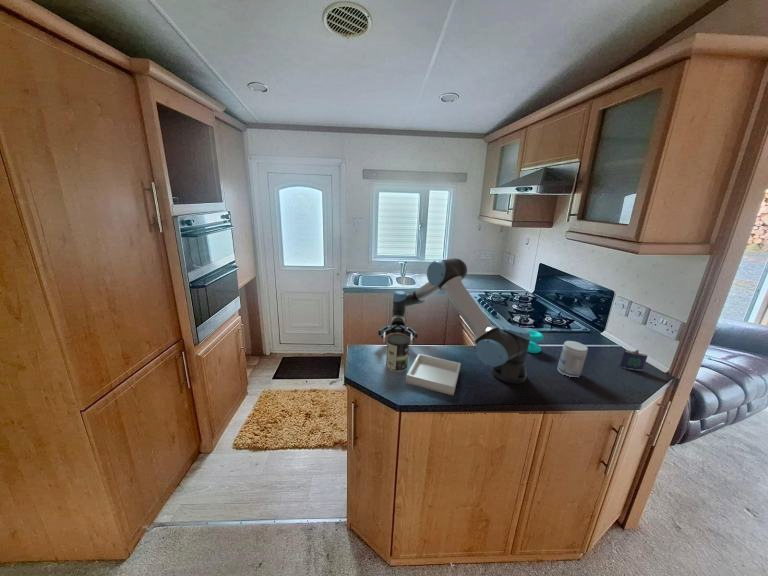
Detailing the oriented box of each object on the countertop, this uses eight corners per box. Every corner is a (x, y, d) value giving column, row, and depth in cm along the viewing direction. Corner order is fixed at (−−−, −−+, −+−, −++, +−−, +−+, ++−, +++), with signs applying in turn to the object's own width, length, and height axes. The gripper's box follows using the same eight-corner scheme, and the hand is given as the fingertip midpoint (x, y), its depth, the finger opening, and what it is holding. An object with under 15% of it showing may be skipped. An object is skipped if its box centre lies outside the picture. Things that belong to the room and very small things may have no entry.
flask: (641, 370, 144) (647, 350, 141) (643, 373, 142) (650, 353, 139) (618, 365, 148) (624, 346, 144) (620, 368, 145) (626, 349, 142)
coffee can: (408, 362, 140) (410, 335, 136) (405, 373, 131) (408, 345, 127) (387, 358, 142) (389, 332, 138) (383, 370, 133) (385, 342, 129)
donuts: (548, 336, 153) (532, 337, 151) (544, 353, 156) (528, 354, 154) (534, 328, 162) (519, 329, 160) (531, 344, 165) (516, 346, 163)
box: (459, 370, 135) (460, 363, 134) (453, 395, 117) (454, 387, 116) (417, 360, 142) (418, 353, 141) (405, 383, 124) (406, 374, 123)
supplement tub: (552, 367, 143) (559, 339, 139) (572, 368, 143) (579, 340, 139) (564, 378, 134) (571, 349, 129) (585, 379, 134) (593, 350, 129)
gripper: (419, 331, 164) (422, 349, 144) (375, 328, 165) (372, 346, 145) (420, 319, 162) (423, 335, 142) (376, 316, 163) (372, 332, 143)
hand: (397, 341), depth 143 cm, fingers open, 13 cm apart
